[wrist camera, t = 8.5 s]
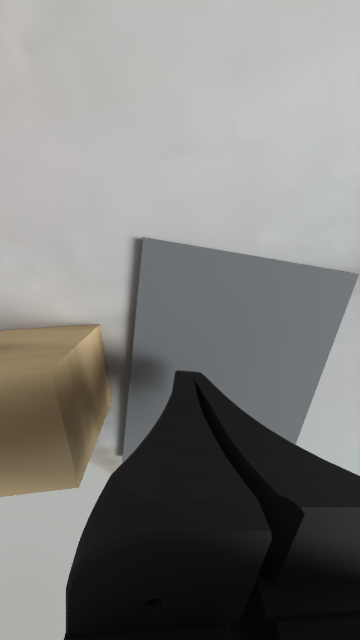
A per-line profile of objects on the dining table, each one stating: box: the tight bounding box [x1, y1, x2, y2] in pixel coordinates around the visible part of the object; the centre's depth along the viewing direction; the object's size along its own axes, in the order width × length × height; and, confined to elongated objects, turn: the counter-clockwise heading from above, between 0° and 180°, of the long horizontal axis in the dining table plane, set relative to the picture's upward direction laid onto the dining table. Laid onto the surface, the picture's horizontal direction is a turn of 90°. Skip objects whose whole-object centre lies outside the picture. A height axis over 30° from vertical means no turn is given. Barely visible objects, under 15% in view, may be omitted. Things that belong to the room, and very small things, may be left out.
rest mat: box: [122, 237, 359, 461], centre depth 12 cm, size 14×12×1 cm
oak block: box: [0, 324, 111, 497], centre depth 9 cm, size 5×5×5 cm
